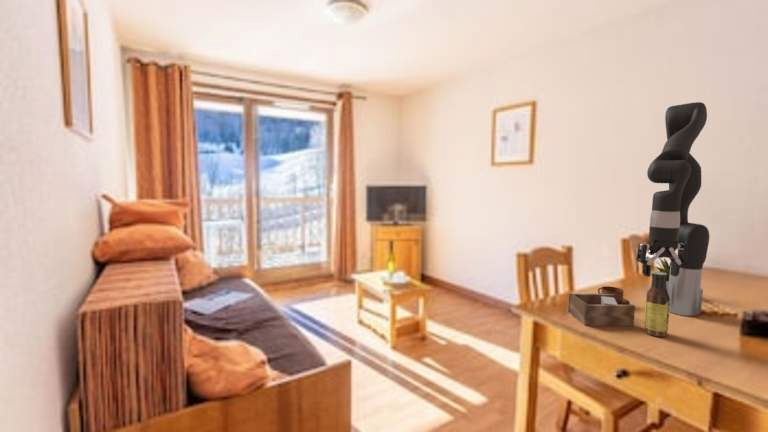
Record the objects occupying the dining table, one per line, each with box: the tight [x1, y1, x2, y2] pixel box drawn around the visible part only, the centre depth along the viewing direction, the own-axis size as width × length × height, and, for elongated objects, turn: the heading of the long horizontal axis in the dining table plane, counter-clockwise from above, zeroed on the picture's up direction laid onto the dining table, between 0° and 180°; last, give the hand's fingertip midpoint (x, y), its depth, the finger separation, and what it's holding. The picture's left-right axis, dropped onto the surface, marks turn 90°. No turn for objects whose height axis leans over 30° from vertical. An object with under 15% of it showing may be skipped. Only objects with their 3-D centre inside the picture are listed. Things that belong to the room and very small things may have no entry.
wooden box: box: [567, 293, 636, 327], centre depth 135 cm, size 16×12×7 cm
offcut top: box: [601, 296, 618, 305], centre depth 135 cm, size 4×8×4 cm, turn 158°
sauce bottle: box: [643, 271, 670, 338], centre depth 122 cm, size 7×6×20 cm
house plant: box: [651, 257, 671, 291], centre depth 163 cm, size 14×14×16 cm
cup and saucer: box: [597, 285, 631, 305], centre depth 150 cm, size 12×12×6 cm
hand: (660, 275), depth 121 cm, fingers open, 8 cm apart
